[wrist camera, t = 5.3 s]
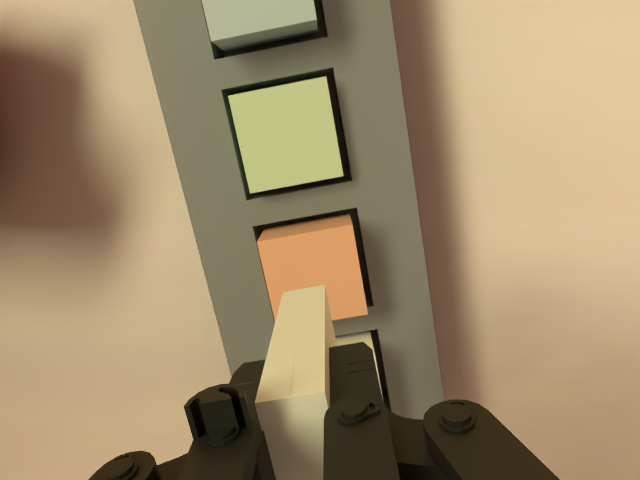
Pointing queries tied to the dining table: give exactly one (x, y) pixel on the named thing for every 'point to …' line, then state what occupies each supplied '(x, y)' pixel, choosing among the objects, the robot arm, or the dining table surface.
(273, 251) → the key terracotta
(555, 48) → the dining table surface
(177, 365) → the dining table surface
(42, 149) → the dining table surface
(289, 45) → the keypad
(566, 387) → the dining table surface
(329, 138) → the key sage
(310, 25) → the key greyblue
